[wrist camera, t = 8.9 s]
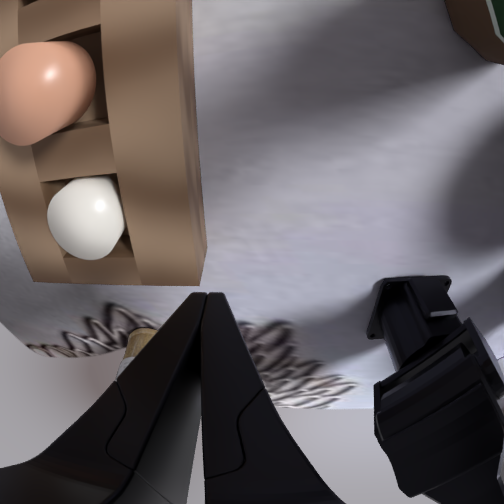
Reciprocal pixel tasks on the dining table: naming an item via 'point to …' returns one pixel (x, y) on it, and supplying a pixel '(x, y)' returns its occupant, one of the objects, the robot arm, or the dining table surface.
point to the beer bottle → (480, 25)
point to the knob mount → (115, 141)
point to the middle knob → (43, 89)
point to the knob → (88, 216)
